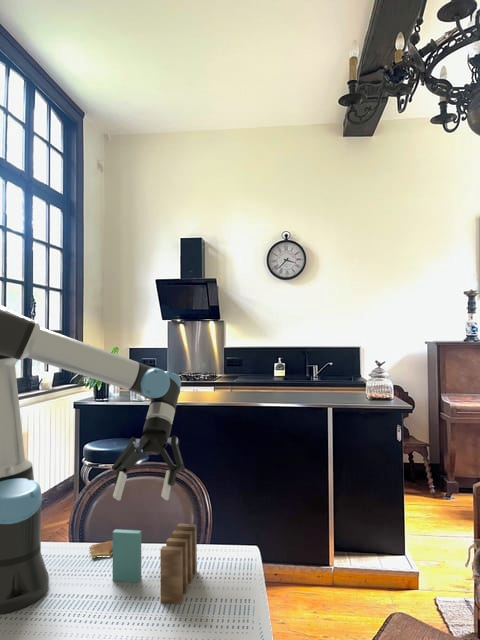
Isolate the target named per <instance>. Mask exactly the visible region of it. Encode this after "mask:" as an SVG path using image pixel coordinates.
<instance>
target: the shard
mask: <svg viewBox="0 0 480 640" xmlns="http://www.w3.org/2000/svg"><path fill="white" fill-rule="evenodd" d="M89 549H90V550H89ZM88 550H89V552H90V551H91V552H90V555H91V554H92V555H91V559H92V558H93V559H95V558H94V557H97V556H111V555H112V554H113V539H112V540H109V541H103V542H98V543H95V544H91V545H90V546H89V548H88ZM112 556H113V555H112ZM112 556H111V557H112Z"/></svg>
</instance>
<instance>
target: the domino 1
mask: <svg viewBox="0 0 480 640" xmlns="http://www.w3.org/2000/svg"><path fill="white" fill-rule="evenodd" d="M112 540H113V555H112V581H114V582H124V583H125V582H126V583H140V582H141V581H142V530H138V529H137V530H135V529H120V528H119V529H118V528H117V529H116V528H115V529H114V530H113V531H112Z"/></svg>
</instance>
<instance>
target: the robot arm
mask: <svg viewBox="0 0 480 640" xmlns="http://www.w3.org/2000/svg"><path fill="white" fill-rule="evenodd" d="M24 359H30V360H34V361H37V362H39V363H43V364H46V365H49V366H53V367H56V368H58V369H62V370H64V371H67V372H71V373H74V374H78V375H81V376H84V377H86V378H90V379H93V380H96V381H98V382H102V383H105V384H108V385H111V386H114V387H117V388H120V389H124V390H127V391H129V392H132V393H134V394H136V395H139V396H142V397H143V398H145V399H148V400H150V403H149V408H148V411H147V414H146V417H145V422H144V425H143V430H142V436H141V438H136V437H134V436H132V437H131V438H130V439H129V442H128V444H127V446H126V447H125V448H124V450H123V451H122V453H121V454H120V455H119V457H118V458H117V459H116V460H115V461H114V463H113V464H112V466H111V469H112V470H113V472H114V473H116V475H115V479H114V483H113V484H114V486H115V487H114V491H113V494H112V497H113V498H114V499H115V500H116V501H121V500H122V496H123V492H124V488H125V485H126V482H127V478H128V475H127V474H126V473H128V472H129V471H130V470H131V469H132V468H133V467H134V466H135V465H136V464H137V463H139V461H140V460H141V459H142V458H145V457H146V455H147V456H152V455H155V456H159V455H161V457H162V459H164V461H165V463H166V465H167V467H168V469H169V470H166V471H165V476H164V481H163V485H162V490H161V495H160V497H162V498H163V499H164V500H165V501H169V500H170V494H171V488H172V487H174V486H175V484H176V478H177V474H178V473H179V472H185V465H184V461H183V458H182V453H181V451H180V439H179V438H178V437H177V435H176V434H173V435H171V431H172V426H173V423H174V422H173V421H174V417H175V414H176V409H177V405H178V400H179V396H180V393H181V387H182V380H181V377H180V376H179V375H178V374H177V373H175V372H170V371H165V370H164V369H161V368H158V367H153V366H149V365H147V364H144V363H140V362H138V361H136V360H133V359H130V358H127V357H125V356H121V355H119V354H117V353H113V352H110V351H108V350H106V349H103V348H100V347H96V346H94V345H91V344H89V343H85V342H83V341H81V340H77V339H75V338H71V337H69V336H67V335H63V334H61V333H58V332H55V331H52V330H50V329H46V328H44V327H41V326H40V324H39V322H38V321H37V320H34V319H32V318H30V317H27V316H24V315H22V314H20V313H18V312H16V311H14V310H13V309H10V308H8V307H6V306H4V305H2V304H0V615H1V614H8V613H11V612H15V611H17V610H21V609H24V608H26V607H28V606H30V605H31V604H34V603H36V602H37V601H39V600H41V598H42V597H43V596H44V595H46V593H47V592H48V591H49V587H50V584H49V583H50V579H49V578H50V575H49V572H48V570H47V567H46V564H45V561H44V557H43V555H42V550H41V549H42V547H41V546H42V544H41V543H42V501H43V495H42V490H41V486H40V484H39V483H38V482H37V481H35V478H34V467H33V463H32V461H30V460H29V459H27V458H26V457H25V446H24V438H23V428H22V418H21V410H20V408H21V407H20V400H19V399H20V398H19V390H18V381H17V372H16V364H17V362H18V361H19V360H20V361H22V360H24ZM170 436H171V437H170ZM168 445H170V446H171V450H172V453H173V458H174V461H175V463H174V462H173V460H172V459H171V457H170V455H169V453H168V452H167V450H166V449H165V448H166V447H167V446H168Z"/></svg>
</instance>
